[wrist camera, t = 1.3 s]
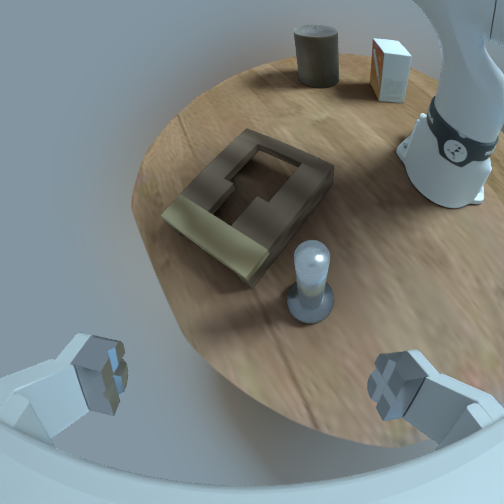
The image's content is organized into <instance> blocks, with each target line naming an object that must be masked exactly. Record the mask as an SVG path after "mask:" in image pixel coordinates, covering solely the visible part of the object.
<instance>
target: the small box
mask: <svg viewBox="0 0 504 504" xmlns="http://www.w3.org/2000/svg"><path fill="white" fill-rule="evenodd" d="M372 49H373V50H372V63H371V75H370V84H371V86H372V88H373V90H374V92H375V94H376V96H377V98H378V100H379V101H383V102H397V103H404V98H405V92H406V87H407V82H408V76H409V70H410V63H411V57H412V56H411V55H410V54H409V53H408V51H407V50H406V49H405V48H404V47H403V46H402V45H401V44H400V43H399V42H398V41H394V40H385V39H373V48H372Z"/></svg>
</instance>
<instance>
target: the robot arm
mask: <svg viewBox="0 0 504 504" xmlns="http://www.w3.org/2000/svg"><path fill="white" fill-rule="evenodd" d="M413 1H414V2H415V3H416V4H417V5H418V6H419V7H420V8H421V9H422V10H423V12H424V13H425V14H426V16H427V17H428V19H429V20H430V22H431V24H432V25H433V27H434V30H435V32H436V34H437V37H438V40H439V43H440V48H441V55H442V63H441V73H440V79H439V84H438V89H437V93H436V96H434V97H433V99H432V101H431V103H430V105H429V108H428V114H427V115H426V114H424V113H422V114H421V115H420V117H419V119H418V120H417V121H416V123H415V126H414V129H413V132H412V134H410V135H409V136H408V137H407V138H406V139H405V140H404V141H403V142H402V143H401V144H400V145H399V146H398V147H397V150H396V153H397V155H398V156H399V158H400V159H401V160H402V161H403V163H404V165H405V168H406V171H407V174H408V176H409V178H410V180H411V182H412V183H413V184H414V186H415V187H416V188H417V189H418V190H419V191H420V192H421V193H422V194H423V195H424V196H425V197H427V198H428V199H430V200H431V201H433V202H435V203H437V204H439V205H441V206H444V207H449V208H459V207H463V206H465V205H467V204H481V203H482V201H483V199H484V186H483V185H484V183H485V181H486V180H487V178H488V176H489V174H490V172H491V170H492V168H491V161H490V155H491V154H492V153H493V151H494V149H495V147H496V144H497V142H498V134H499V132H500V130H501V128H502V126H503V124H504V75H503V73H502V72H501V70H500V69H499V68H498V67H497V65H496V64H495V63H494V62H493V61H492V59H491V58H490V56H489V55H488V53H487V50H486V48H485V44H484V40H485V39H487V40H489V41H490V40H491V41H492V42H494V43H496V44H497V45H499V46H501V47H503V48H504V0H413ZM405 148H406V149H405ZM124 354H125V350H124V345H123V343H122V342H121V341H117V340H112V339H108V338H103V337H98V336H94V335H89V334H85V333H77V334H76V335H75V336H74V338H73V339H72V340H71V341H70V342H69V344H68V345H67V346H66V347H65V348H64V350H63V351H62V352H61V354H60V355H59V356H58V357H57V358H56V360H54V359H50V360H47V361H44V362H42V363H39V364H37V365H34V366H32V367H29V368H27V369H24V370H21V371H18V372H16V373H13V374H10V375H8V376H5V377H2V378H0V504H504V409H503V408H502V406H501V405H500V404H499V403H498V402H497V401H496V400H495V399H494V398H493V396H492V395H490V394H488V393H485V392H483V391H481V390H478V389H476V388H474V387H472V386H469V385H467V384H465V383H462V382H460V381H458V380H456V379H453V378H451V377H449V376H447V375H445V374H439V373H438V372H437V370H436V369H435V368H434V367H433V366H432V365H431V364H430V363H429V361H428V360H427V359H426V358H425V357H424V356H423V355H422V354H421V353H420V352H419V351H418V350H415V349H414V350H407V351H403V352H394V353H383V354H380V355H379V356H378V357H377V359H376V361H375V366H376V369H375V370H374V371H373V372H372V373H371V374H370V376H369V379H368V384H367V390H368V394H369V396H370V398H371V399H372V400H373V401H375V402H377V406H376V409H377V411H378V413H379V414H380V416H381V418H382V420H383V421H387V420H392V419H398V418H402V417H404V418H403V419H405V420H406V421H407V422H409V423H410V424H411V425H413V426H414V427H416V428H417V429H418V430H420V431H421V432H422V433H424V434H425V435H427V436H428V437H429V438H431V439H432V440H434V441H435V442H436V443H438V444H439V446H438V447H437V448H436V449H435V451H433V452H430V453H428V454H425V455H422V456H419V457H417V458H414V459H411V460H408V461H405V462H402V463H398V464H395V465H392V466H388V467H385V468H381V469H378V470H373V471H369V472H365V473H361V474H356V475H351V476H347V477H341V478H335V479H329V480H323V481H316V482H307V483H298V484H287V485H269V486H227V485H226V486H225V485H210V484H198V483H189V482H181V481H173V480H167V479H161V478H155V477H149V476H145V475H140V474H135V473H131V472H127V471H123V470H119V469H115V468H112V467H108V466H105V465H101V464H98V463H95V462H91V461H88V460H86V459H83V458H80V457H77V456H74V455H72V454H69V453H66V452H64V451H61V450H59V449H56V447H55V446H54V444H53V443H52V441H51V438H52V437H54V436H55V435H56V434H58V433H59V432H61V431H62V430H64V429H65V428H67V427H68V426H69V425H71V424H72V423H74V422H75V421H76V420H78V419H79V418H81V417H82V416H84V415H85V414H86V413H88V412H89V410H91V411H95V412H99V413H103V414H108V415H112V416H114V415H115V412H116V410H117V407H118V405H119V403H120V399H119V394H121V393H122V392H124V390H125V388H126V385H127V380H128V368H127V364H126V362H125V361H124V360H123V359H122V357H123V355H124Z"/></svg>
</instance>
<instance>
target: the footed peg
mask: <svg viewBox="0 0 504 504" xmlns="http://www.w3.org/2000/svg"><path fill="white" fill-rule="evenodd" d="M294 262H295V271H296V280H297V281H296V282H295V283H294V284H293V285H292V286H291V288H290V289H289V291H288V295H287V305H288V309H289V311H290V313H291V315H292V316H293V317H294V318H295V319H296V320H297V321H299V322H301V323H304V324H315V323H318V322H321V321H322V320H324V319H325V318H326V317H327V316H328V315H329V313H330V312H331V309H332V307H333V303H334V295H333V291H332V289H331V287H330V286H329V285H328V284H327V283H326V278H327V273H328V268H329V262H330V253H329V250H328V248H327V247H326V246H325V245H324V244H323V243H321V242H319V241H315V240H309V241H305V242H303V243H301V244H300V245H299V246H298V247H297V248H296V250H295V253H294Z"/></svg>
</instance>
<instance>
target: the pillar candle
mask: <svg viewBox="0 0 504 504" xmlns="http://www.w3.org/2000/svg"><path fill="white" fill-rule="evenodd" d="M293 31H294V38H295V46H296V56H297V64H298V72H299V73H298V74H299V79H300V81H301V82H302V83H303V84H305V85H308V86H311V87H315V88H326V87H330V86H334V85H336V84H337V83H338V81H339V57H338V32H337V30H336V29H335V28H333V27H330V26H326V25H317V24H314V25H303V26H300V27H297V28H295V29H293Z"/></svg>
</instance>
